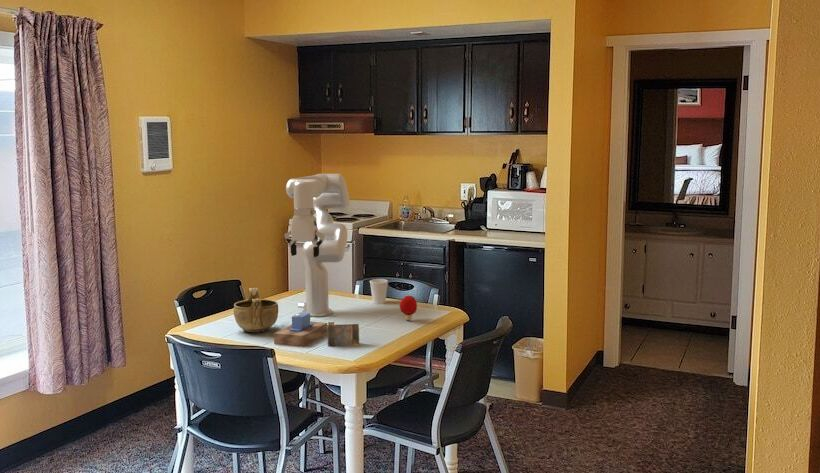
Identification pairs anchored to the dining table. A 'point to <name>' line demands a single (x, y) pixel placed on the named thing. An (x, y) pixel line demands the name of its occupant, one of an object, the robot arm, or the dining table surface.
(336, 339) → the ruin model on sheet
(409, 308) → the light bulb
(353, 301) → the dining table surface
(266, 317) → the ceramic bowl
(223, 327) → the dining table surface
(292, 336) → the brown wooden flat block
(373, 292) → the dixie cup
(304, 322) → the servo
